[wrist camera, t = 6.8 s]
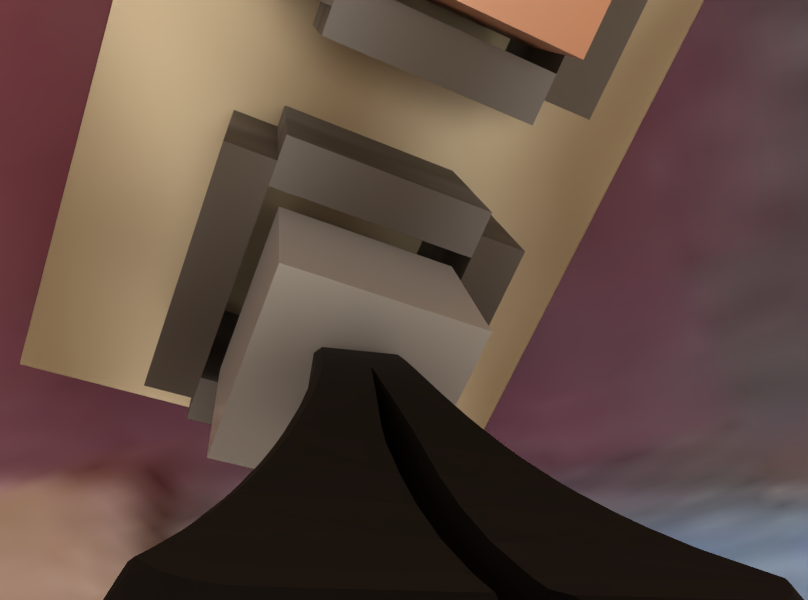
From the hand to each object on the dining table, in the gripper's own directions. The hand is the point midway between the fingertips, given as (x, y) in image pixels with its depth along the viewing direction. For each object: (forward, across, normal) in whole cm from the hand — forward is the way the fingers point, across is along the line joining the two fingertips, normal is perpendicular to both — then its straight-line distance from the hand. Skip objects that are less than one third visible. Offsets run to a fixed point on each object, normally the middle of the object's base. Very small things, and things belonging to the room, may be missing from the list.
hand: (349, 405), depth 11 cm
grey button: (+3, 0, 0) cm, 3 cm away
